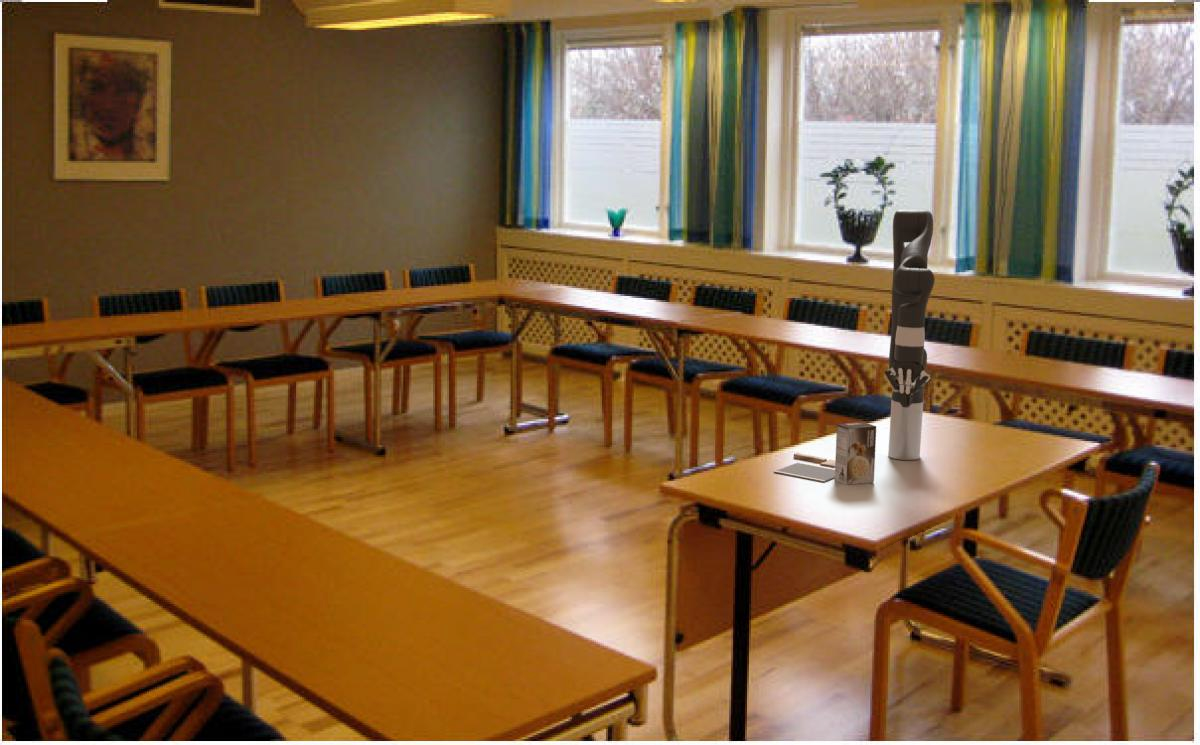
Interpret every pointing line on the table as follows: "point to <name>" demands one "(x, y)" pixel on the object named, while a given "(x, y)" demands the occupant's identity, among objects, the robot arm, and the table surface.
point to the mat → (808, 472)
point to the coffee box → (855, 453)
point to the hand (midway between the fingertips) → (905, 406)
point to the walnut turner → (816, 460)
